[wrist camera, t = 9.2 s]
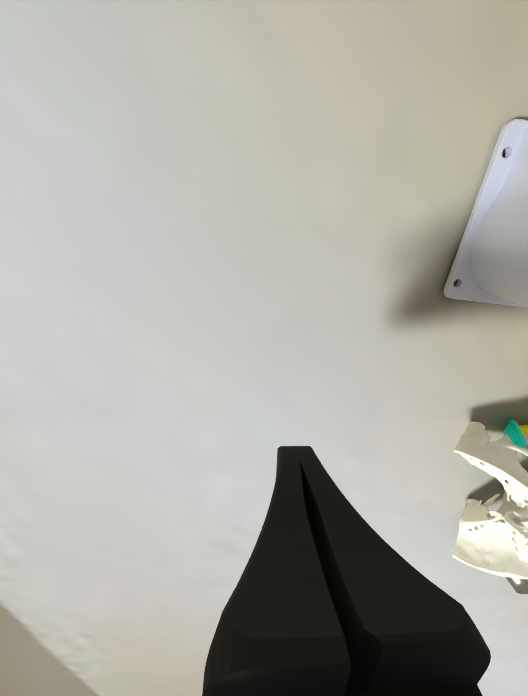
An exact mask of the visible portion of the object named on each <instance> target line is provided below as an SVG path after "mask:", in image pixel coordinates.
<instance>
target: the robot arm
mask: <svg viewBox="0 0 528 696" xmlns="http://www.w3.org/2000/svg"><path fill="white" fill-rule="evenodd" d="M504 149H505V150H506V155H505V157H504V158H503V157H502V151H503V150H504ZM455 280H458V283H457V284H456V285H455V286H454V285H453V284H454V281H455ZM444 295H445V296H446V297H448V298H451V299H458V300H467V301H475V302H484V303H493V304H501V305H510V306H518V307H527V308H528V120H523V119H514V120H511V121H509V122H507V123H506V124H505V125H504V126H503V128H502V130H501V133H500V135H499V138H498V141H497V144H496V146H495V149H494V152H493V155H492V158H491V160H490V163H489V166H488V169H487V171H486V174H485V177H484V180H483V182H482V185H481V188H480V191H479V194H478V196H477V199H476V202H475V205H474V207H473V210H472V213H471V216H470V218H469V221H468V224H467V227H466V229H465V232H464V235H463V238H462V241H461V243H460V246H459V249H458V252H457V254H456V257H455V260H454V263H453V265H452V268H451V271H450V274H449V276H448V279H447V282H446V285H445V288H444ZM490 659H491V655H490V650H489V649H488V647H487V645H486V643H485V641H484V640H483V638H482V636H481V634H480V632H479V631H478V629H477V627H476V626H475V624H474V622H473V621H472V619H471V618H470V616H469V615H468V613H467V612H466V610H465V609H464V607H463V606H462V605H461V604H460V603H459V602H457V601H456V600H455V599H453V598H452V597H451V596H449V595H448V594H447V593H445V592H444V591H443V590H441V589H440V588H439V587H437V586H436V585H435V584H433V583H432V582H431V581H429V580H428V579H427V578H426V577H424V576H423V575H422V574H421V573H420V572H418V571H417V570H416V569H415V568H414V567H412V566H411V565H410V564H409V563H408V562H407V561H406V560H405V559H403V558H402V557H401V556H400V555H399V554H398V553H397V552H396V551H395V550H394V549H393V548H391V547H390V546H389V545H388V544H387V543H386V542H385V541H384V540H383V539H382V538H381V537H380V536H379V535H378V534H377V533H376V532H375V531H374V530H373V529H372V528H371V527H370V526H369V525H368V523H367V522H366V521H365V520H364V519H363V518H362V517H361V516H360V515H359V513H358V512H357V511H356V510H355V509H354V508H353V506H352V505H351V504H350V503H349V501H348V500H347V499H346V498H345V496H344V495H343V494H342V493H341V491H340V490H339V489H338V487H337V486H336V484H335V483H334V482H333V480H332V479H331V477H330V476H329V475H328V473H327V472H326V470H325V469H324V467H323V466H322V464H321V462H320V461H319V459H318V458H317V456H316V454H315V453H314V451H313V449H312V448H311V447H310V446H280V447H279V448H278V453H277V471H276V482H275V487H274V491H273V495H272V498H271V502H270V506H269V509H268V512H267V515H266V518H265V521H264V524H263V527H262V530H261V532H260V535H259V538H258V540H257V543H256V545H255V548H254V550H253V552H252V555H251V557H250V559H249V561H248V563H247V565H246V567H245V569H244V572H243V574H242V576H241V578H240V580H239V582H238V584H237V586H236V588H235V590H234V591H233V593H232V595H231V597H230V599H229V601H228V602H227V604H226V606H225V608H224V610H223V612H222V614H221V618H220V621H219V623H218V626H217V629H216V632H215V635H214V638H213V640H212V643H211V647H210V650H209V653H208V657H207V661H206V666H205V672H204V683H203V694H202V696H482V694H481V692H480V690H479V688H478V686H477V683H478V682H479V680H480V679H481V677H482V676H483V674H484V673H485V671H486V670H487V668H488V666H489V663H490Z"/></svg>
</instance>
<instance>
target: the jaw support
mask: <svg viewBox="0 0 528 696" xmlns="http://www.w3.org/2000/svg"><path fill="white" fill-rule="evenodd" d="M526 445H528V425H522V426H519V425H518V424H517V422H516V421H515V420H514V419H511V420H509V422H508V425H507V426H506V429H505V430H504V437H503V438H501V439H499V440H497V441H493V442H490V436H489V435H488V433H487V431H486V430H485V426H484V425H483V424H481V423H480V422H469V424H468V426H467V429H466V431H465V433H463V434H462V436H461V438H460V441H459V443H458V445H457V447H456V448H455V449H454V453H460V454H461V456H463V457H464V458H466V459H467V460H468V461H469V462H470V463H471V464H472V465H476V466H477V467H478V468H480V469H482V470H484V471H485V472H487V473H489V474H490V475H491V476H494V477H496V478H497V479H498V480H499V481H500V482H501V483H502V485H503V487H504V489H505V492H504V495H503V502H502V505H501V506H500V508H499V509H498V510H497V511H489V510H488V509H487V507H488V506H490V505H492V504H493V502H494V500H495V499H496V498H497V497H499V495H500V494H499V493H498V494H496V495H494V496H493V497H492V498H490V499H488V500H487V501H486V502H485V503H484V504H481V503H482V500H480V502H479V501H478V500H475V499H467V502H466V507H465V508H464V511H463V515H462V517H461V518H460V523H459V525H460V528H459V534H458V538H457V542H456V545H455V548H454V551H453V555H452V557H454V558H455V559H457V560H459V561H461V562H463V563H465V564H467V565H469V566H471V567H474V568H476V569H479V570H482V571H484V572H487V573H491V574H495V575H499V576H503V577H511V578H517V579H528V472H527V471H526V470H525V469H524V468H523V467H522V466H521V465H520V463H519V461H518V459H517V452H518V451H519V452H521V453H523V454H525V455H526V456H528V449H526ZM505 480H507V481H508V483H507V482H505Z"/></svg>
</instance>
